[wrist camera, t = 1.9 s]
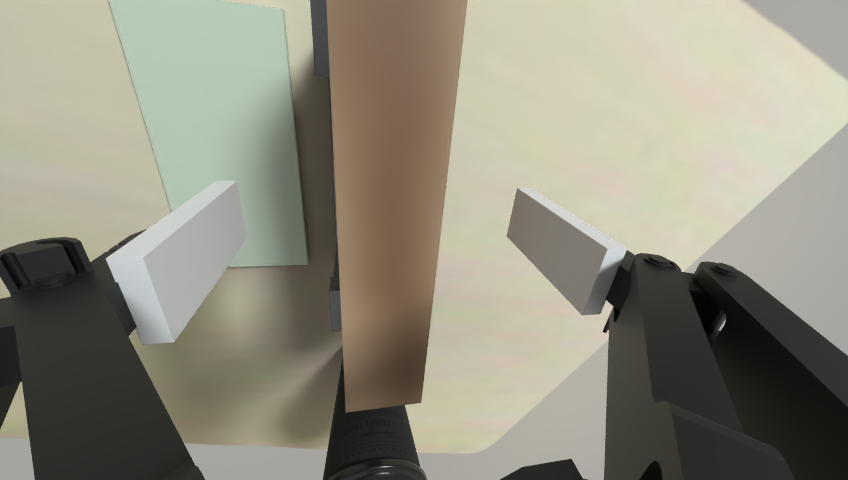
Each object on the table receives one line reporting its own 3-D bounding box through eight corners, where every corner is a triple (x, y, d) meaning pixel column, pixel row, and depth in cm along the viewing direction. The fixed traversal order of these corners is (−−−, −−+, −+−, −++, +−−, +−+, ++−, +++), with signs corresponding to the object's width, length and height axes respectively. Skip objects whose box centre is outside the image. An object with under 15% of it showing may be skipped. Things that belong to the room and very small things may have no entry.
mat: (191, 264, 25) (188, 268, 25) (111, -12, 17) (104, -15, 17) (308, 261, 27) (307, 264, 27) (284, 10, 19) (282, 8, 19)
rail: (347, 331, 21) (345, 412, 16) (334, -46, 13) (320, -136, 7) (405, 326, 22) (421, 402, 17) (430, -30, 13) (478, -100, 8)
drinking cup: (374, 309, 31) (399, 603, 14) (415, 350, 35) (477, 623, 17) (313, 348, 32) (263, 676, 14) (360, 384, 35) (365, 680, 18)
